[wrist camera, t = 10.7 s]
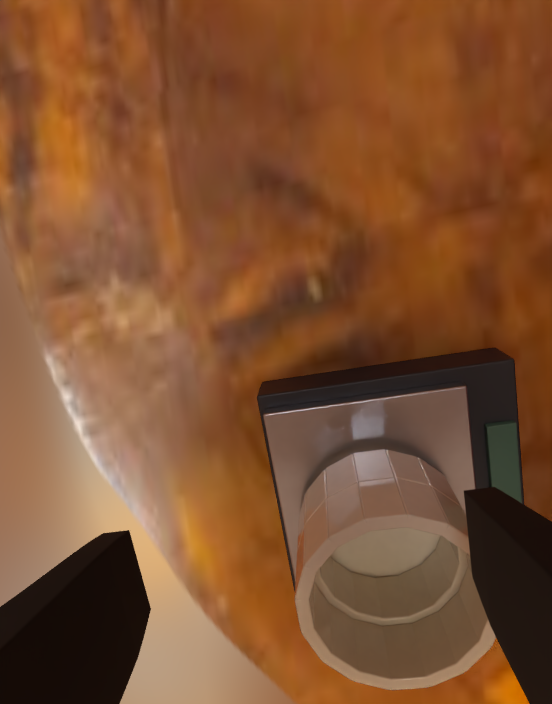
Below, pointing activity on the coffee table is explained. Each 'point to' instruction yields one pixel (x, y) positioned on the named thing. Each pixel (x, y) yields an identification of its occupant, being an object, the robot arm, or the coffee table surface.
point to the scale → (395, 424)
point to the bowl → (388, 573)
